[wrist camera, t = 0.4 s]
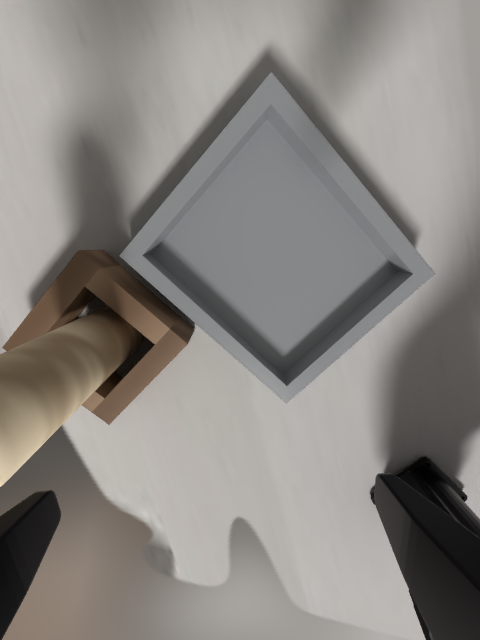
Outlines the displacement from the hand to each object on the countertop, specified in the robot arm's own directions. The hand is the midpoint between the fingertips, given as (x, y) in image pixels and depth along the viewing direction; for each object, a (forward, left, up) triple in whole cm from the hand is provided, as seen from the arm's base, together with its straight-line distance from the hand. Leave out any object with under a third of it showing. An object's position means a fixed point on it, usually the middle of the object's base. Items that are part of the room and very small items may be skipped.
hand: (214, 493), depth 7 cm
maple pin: (+6, +6, -13) cm, 16 cm away
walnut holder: (+6, +6, -13) cm, 16 cm away
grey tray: (+1, -6, -13) cm, 15 cm away
